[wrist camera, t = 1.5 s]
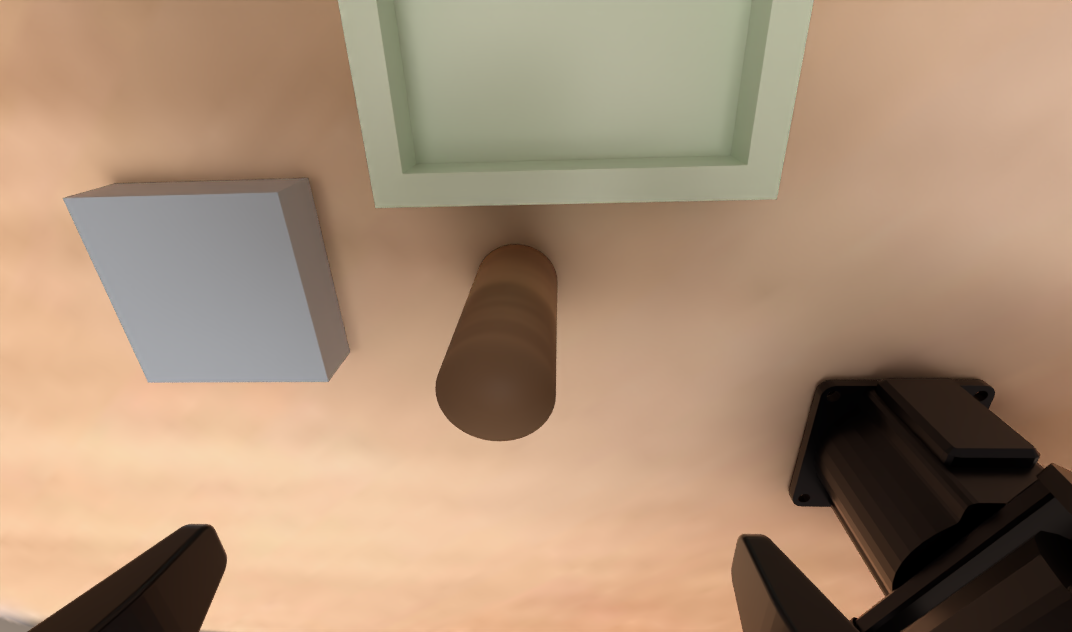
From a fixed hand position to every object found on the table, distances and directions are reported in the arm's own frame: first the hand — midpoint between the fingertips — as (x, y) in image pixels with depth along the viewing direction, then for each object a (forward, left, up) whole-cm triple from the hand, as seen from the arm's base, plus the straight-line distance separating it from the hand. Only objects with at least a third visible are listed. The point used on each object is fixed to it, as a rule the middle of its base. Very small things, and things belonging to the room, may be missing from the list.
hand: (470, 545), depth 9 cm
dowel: (0, 0, -11) cm, 11 cm away
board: (0, +11, -12) cm, 16 cm away
